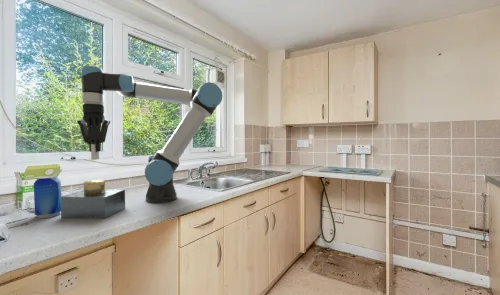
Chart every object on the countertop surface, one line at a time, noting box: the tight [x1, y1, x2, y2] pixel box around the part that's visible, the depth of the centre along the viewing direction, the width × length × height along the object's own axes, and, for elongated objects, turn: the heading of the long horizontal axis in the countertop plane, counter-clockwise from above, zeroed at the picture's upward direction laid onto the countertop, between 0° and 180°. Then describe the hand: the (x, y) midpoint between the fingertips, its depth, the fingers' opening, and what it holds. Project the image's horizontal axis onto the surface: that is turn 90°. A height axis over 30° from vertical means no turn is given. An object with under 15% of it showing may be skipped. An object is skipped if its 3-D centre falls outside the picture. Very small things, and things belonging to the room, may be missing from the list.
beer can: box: [33, 175, 62, 219], centre depth 97 cm, size 8×8×16 cm
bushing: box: [83, 179, 106, 195], centre depth 101 cm, size 8×8×13 cm
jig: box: [60, 188, 126, 220], centre depth 101 cm, size 18×14×8 cm
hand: (95, 159), depth 102 cm, fingers closed
